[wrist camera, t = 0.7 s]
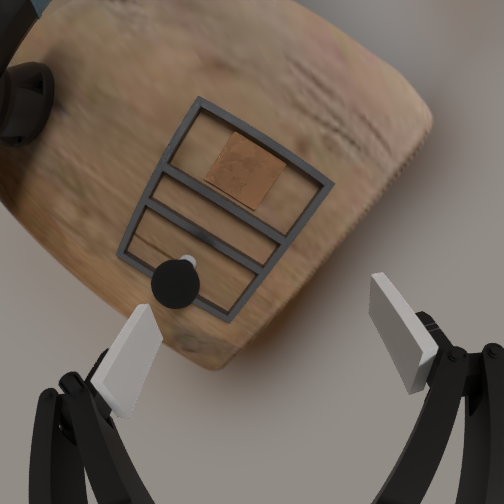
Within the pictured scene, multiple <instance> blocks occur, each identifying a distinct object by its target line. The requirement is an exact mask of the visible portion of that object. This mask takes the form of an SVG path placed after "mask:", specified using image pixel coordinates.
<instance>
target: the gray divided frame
mask: <svg viewBox="0 0 504 504" xmlns="http://www.w3.org/2000/svg"><path fill="white" fill-rule="evenodd" d="M202 108H205V109H207V110H209V111H210V112H212V113H214V114H216V115H217V116H219V117H221V118H223V119H224V120H226V121H228V122H230V123H231V124H233V125H235V126H236V127H238V128H240V129H241V130H243V131H245V132H246V133H248V134H249V135H251V136H253V137H254V138H256V139H257V140H259V141H261V142H262V143H264V144H265V145H267V146H268V147H270V148H271V149H273V150H275V151H276V152H278V153H279V154H281V155H282V156H284V157H285V158H287V159H288V160H289V161H291V162H292V163H294V164H295V165H297V166H298V167H300V168H301V169H302V170H304V171H305V172H307V173H308V174H310V175H311V176H312V177H314V178H315V179H316V180H318V181H319V182H321V183H322V185H321V187H320V188H319V190H318V191H317V192H316V194H315V195H314V197H313V198H312V199H311V201H310V202H309V203H308V205H307V206H306V208H305V209H304V210H303V212H302V213H301V214H300V216H299V217H298V219H297V220H296V221H295V223H294V224H293V225H292V227H291V228H290V230H289V231H288V232H287V234H286V235H284V234H282V233H281V232H279V231H278V230H276V229H275V228H273V227H271V226H270V225H268V224H267V223H265V222H264V221H262V220H261V219H259V218H257V217H256V216H254V215H253V214H251V213H250V212H248V211H247V210H245V209H243V208H242V207H240V206H239V205H237V204H235V203H234V202H232V201H231V200H229V199H227V198H226V197H224V196H223V195H221V194H219V193H218V192H216V191H215V190H213V189H211V188H210V187H208V186H206V185H205V184H203V183H202V182H200V181H198V180H197V179H195V178H193V177H192V176H190V175H188V174H187V173H185V172H183V171H182V170H180V169H178V168H177V167H175V166H173V165H172V164H170V163H169V162H170V160H171V159H172V157H173V155H174V153H175V152H176V150H177V148H178V146H179V145H180V143H181V141H182V140H183V138H184V136H185V135H186V133H187V131H188V130H189V128H190V126H191V125H192V123H193V122H194V120H195V118H196V117H197V115H198V114H199V112H200V111H201V109H202ZM286 165H287V164H285V163H284V162H283V161H281V160H280V159H278V158H277V157H275V156H273V155H272V154H270V153H269V152H267V151H266V150H264V149H263V148H261V147H260V146H258V145H256V144H255V143H253V142H252V141H250V140H248V139H247V138H245V137H244V136H242V135H240V134H239V133H237V132H234V133H233V135H232V136H231V138H230V139H229V141H228V142H227V144H226V145H225V147H224V149H223V150H222V152H221V153H220V155H219V156H218V158H217V160H216V161H215V163H214V164H213V166H212V168H211V169H210V171H209V172H208V174H207V176H206V177H205V180H206V181H208V182H210V183H211V184H213V185H215V186H216V187H218V188H219V189H221V190H223V191H224V192H226V193H227V194H229V195H231V196H232V197H234V198H235V199H237V200H239V201H240V202H242V203H243V204H245V205H247V206H248V207H250V208H251V209H253V210H254V211H255V210H256V208H257V207H258V205H259V204H260V202H261V201H262V199H263V198H264V196H265V195H266V194H267V192H268V191H269V189H270V188H271V186H272V185H273V183H274V182H275V180H276V179H277V178H278V176H279V175H280V173H281V172H282V170H283V169H284V168H285V166H286ZM164 172H166V173H167V174H169V175H171V176H172V177H174V178H176V179H177V180H179V181H181V182H182V183H184V184H186V185H187V186H189V187H191V188H192V189H194V190H195V191H197V192H199V193H200V194H202V195H204V196H205V197H207V198H208V199H210V200H212V201H213V202H215V203H217V204H218V205H220V206H221V207H223V208H225V209H226V210H228V211H229V212H231V213H233V214H234V215H236V216H237V217H239V218H241V219H242V220H244V221H245V222H247V223H248V224H250V225H252V226H253V227H255V228H256V229H258V230H260V231H261V232H263V233H264V234H266V235H267V236H269V237H271V238H272V239H274V240H275V241H277V242H278V243H279V245H278V246H277V247H276V249H275V250H274V251H273V253H272V254H271V255H270V257H269V258H268V259H267V261H266V262H265V263H264V265H262V264H261V263H259V262H257V261H256V260H254V259H252V258H251V257H249V256H247V255H246V254H244V253H243V252H241V251H239V250H238V249H236V248H234V247H233V246H231V245H230V244H228V243H226V242H225V241H223V240H221V239H220V238H218V237H217V236H215V235H213V234H212V233H210V232H208V231H207V230H205V229H204V228H202V227H200V226H199V225H197V224H195V223H194V222H192V221H191V220H189V219H187V218H186V217H184V216H182V215H181V214H179V213H178V212H176V211H174V210H173V209H171V208H170V207H168V206H166V205H165V204H163V203H161V202H160V201H158V200H157V199H155V198H153V197H152V194H153V192H154V190H155V188H156V186H157V185H158V183H159V181H160V179H161V177H162V175H163V173H164ZM334 185H335V183H334V182H333V181H331V180H330V179H329V178H327V177H326V176H325V175H323V174H322V173H320V172H319V171H318V170H316V169H315V168H314V167H312V166H311V165H309V164H308V163H307V162H305V161H304V160H302V159H301V158H299V157H298V156H297V155H295V154H294V153H292V152H291V151H289V150H288V149H286V148H285V147H283V146H282V145H280V144H279V143H277V142H276V141H274V140H273V139H271V138H270V137H268V136H267V135H265V134H263V133H262V132H260V131H259V130H257V129H255V128H254V127H252V126H251V125H249V124H247V123H246V122H244V121H242V120H241V119H239V118H237V117H236V116H234V115H232V114H230V113H229V112H227V111H225V110H223V109H222V108H220V107H218V106H216V105H215V104H213V103H211V102H209V101H207V100H205V99H204V98H202V97H200V96H198V97H197V99H196V100H195V102H194V103H193V105H192V106H191V108H190V109H189V111H188V113H187V114H186V116H185V117H184V119H183V121H182V122H181V124H180V126H179V127H178V129H177V131H176V132H175V134H174V136H173V137H172V139H171V141H170V143H169V144H168V146H167V148H166V150H165V151H164V153H163V155H162V157H161V159H160V161H159V162H158V164H157V166H156V168H155V170H154V172H153V174H152V176H151V178H150V180H149V182H148V184H147V186H146V188H145V190H144V192H143V194H142V196H141V198H140V200H139V202H138V204H137V206H136V208H135V211H134V213H133V215H132V217H131V219H130V222H129V224H128V226H127V229H126V231H125V233H124V236H123V238H122V240H121V243H120V245H119V248H118V250H117V253H116V256H118V257H119V258H121V259H122V260H124V261H125V262H127V263H129V264H130V265H132V266H133V267H135V268H136V269H138V270H139V271H141V272H143V273H144V274H146V275H147V276H149V277H151V278H152V276H153V273H154V271H155V270H156V269H155V268H154V267H152V266H150V265H149V264H147V263H146V262H144V261H142V260H141V259H139V258H138V257H136V256H135V255H133V254H132V253H130V252H128V251H127V248H128V245H129V243H130V241H131V239H132V236H133V234H134V232H135V230H136V227H137V225H138V223H139V221H140V219H141V217H142V215H143V213H144V210H145V208H146V206H148V207H150V208H151V209H153V210H155V211H156V212H158V213H159V214H161V215H163V216H164V217H166V218H167V219H169V220H171V221H172V222H174V223H176V224H177V225H179V226H180V227H182V228H184V229H185V230H187V231H188V232H190V233H192V234H193V235H195V236H197V237H198V238H200V239H201V240H203V241H205V242H206V243H208V244H210V245H211V246H213V247H215V248H216V249H218V250H219V251H221V252H223V253H224V254H226V255H228V256H229V257H231V258H233V259H234V260H236V261H238V262H239V263H241V264H243V265H244V266H246V267H248V268H249V269H251V270H253V271H254V272H256V273H257V274H256V276H255V277H254V278H253V280H252V281H251V282H250V284H249V285H248V286H247V288H246V289H245V290H244V292H243V293H242V294H241V296H240V297H239V298H238V299H237V301H236V302H235V303H234V305H233V306H232V307H231V309H230V310H229V311H226V310H225V309H223V308H221V307H219V306H218V305H216V304H214V303H212V302H210V301H209V300H207V299H205V298H204V297H202V296H200V295H197V297H196V298H195V300H194V301H193V302H192V303H194V304H196V305H197V306H199V307H201V308H203V309H204V310H206V311H208V312H210V313H212V314H213V315H215V316H217V317H219V318H221V319H222V320H224V321H226V322H228V323H231V321H232V320H233V319H234V318H235V316H236V315H237V314H238V313H239V311H240V310H241V309H242V307H243V306H244V305H245V304H246V302H247V301H248V300H249V298H250V297H251V296H252V295H253V293H254V292H255V291H256V289H257V288H258V287H259V286H260V284H261V283H262V282H263V280H264V279H265V278H266V276H267V275H268V274H269V273H270V271H271V270H272V269H273V267H274V266H275V265H276V263H277V262H278V261H279V259H280V258H281V257H282V255H283V254H284V253H285V251H286V250H287V249H288V247H289V246H290V245H291V243H292V242H293V241H294V239H295V238H296V237H297V235H298V234H299V233H300V231H301V230H302V229H303V227H304V226H305V225H306V223H307V222H308V221H309V219H310V218H311V217H312V215H313V214H314V212H315V211H316V210H317V208H318V207H319V206H320V204H321V203H322V201H323V200H324V199H325V197H326V196H327V195H328V193H329V192H330V190H331V189H332V188H333V186H334Z"/></svg>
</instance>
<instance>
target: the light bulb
mask: <svg viewBox="0 0 504 504" xmlns="http://www.w3.org/2000/svg"><path fill="white" fill-rule="evenodd" d="M195 267H196V261H195V259H194V258H193V257H192V256H190V255H183V256H182V257H181V258H180V259H179V260H177V259H176V260H168V261H165V262H163V263H162V264H161V265H159V266H158V267H157V268H156V270H155V271H154V273H153V276H152V280H151V288H152V292H153V294H154V296H155V298H156V299H157V300H158V302H160V303H161V304H162V305H164V306H166V307H168V308H172V309H180V308H183V307H186V306H188V305H190V304H191V303H192V302H193V301H194V300H195V298H196V297H197V295H198V292H199V287H200V281H199V277H198V274H197V272H196V271H195Z"/></svg>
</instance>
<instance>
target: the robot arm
mask: <svg viewBox="0 0 504 504" xmlns="http://www.w3.org/2000/svg"><path fill="white" fill-rule="evenodd" d="M51 1H52V0H0V144H2V145H5V146H8V147H19V146H24V145H27V144H29V143H30V142H32V141H33V140H34V139H35V138H36V137H37V136H38V134H39V133H40V131H41V130H42V128H43V127H44V125H45V123H46V121H47V118H48V116H49V113H50V110H51V106H52V101H53V95H54V81H53V76H52V73H51V71H50V69H49V68H48V67H47V66H46V65H45V64H42V63H37V62H26V63H23V64H19V65H15V66H12V67H8V68H7V66H8V64H9V62H10V61H11V59H12V57H13V56H14V54H15V52H16V51H17V49H18V48H19V46H20V44H21V43H22V41H23V40H24V38H25V37H26V35H27V34H28V32H29V31H30V30H31V28H32V27H33V25H34V24H35V23H36V21H37V20H38V19H40V18H41V16H42V13H43V11H44V10H45V9H46V7H47V6H48V5H49V3H50V2H51ZM369 315H370V317H371V319H372V320H373V322H374V324H375V326H376V328H377V330H378V332H379V334H380V336H381V338H382V340H383V342H384V344H385V346H386V348H387V350H388V352H389V354H390V355H391V358H392V359H393V362H394V364H395V366H396V368H397V370H398V372H399V374H400V376H401V378H402V381H403V383H404V385H405V387H406V389H407V392H408V394H409V395H410V394H413V393H416V392H419V391H422V390H424V387H425V385H426V382H427V384H428V386H429V387H430V389H429V391H428V394H427V396H426V398H425V400H424V405H423V407H422V410H421V412H420V414H419V417H418V419H417V421H416V424H415V426H414V429H413V431H412V433H411V435H410V437H409V439H408V441H407V443H406V445H405V447H404V449H403V451H402V453H401V455H400V457H399V459H398V461H397V462H396V464H395V466H394V468H393V470H392V471H391V473H390V475H389V477H388V478H387V480H386V482H385V483H384V485H383V486H382V488H381V490H380V491H379V493H378V494H377V496H376V497H375V499H374V500H373V502H372V503H371V504H420V503H421V501H422V499H423V497H424V496H425V494H426V492H427V490H428V487H429V485H430V483H431V481H432V479H433V477H434V475H435V472H436V470H437V468H438V466H439V463H440V461H441V458H442V456H443V453H444V451H445V448H446V445H447V443H448V440H449V437H450V434H451V431H452V428H453V425H454V421H455V418H456V415H457V411H458V408H459V404H460V400H461V397H464V396H465V433H464V449H463V459H462V468H461V475H460V482H459V488H458V493H457V498H456V503H455V504H504V348H503V347H502V346H501V345H499V344H496V343H489V344H487V345H485V346H484V348H483V350H482V352H481V353H467V351H465V350H464V349H463V348H460V347H458V346H453V345H452V344H451V342H450V341H449V340H448V338H447V337H446V336H445V334H444V333H443V332H442V331H441V329H439V326H438V325H437V324H436V323H435V321H434V320H433V318H432V317H431V316H430V315H428V314H427V313H425V312H423V311H421V312H418V313H414V312H413V311H412V309H411V308H410V306H409V305H408V304H407V302H406V301H405V300H404V298H403V297H402V296H401V294H400V293H399V292H398V291H397V290H396V288H395V287H394V286H393V284H392V283H391V282H390V280H388V278H387V277H386V276H385V274H384V273H383V272H381V273H376V274H371V284H370V304H369ZM162 340H163V337H162V335H161V332H160V330H159V328H158V325H157V323H156V321H155V318H154V316H153V313H152V311H151V308H150V306H149V304H139V305H138V306H137V307H136V309H135V310H134V312H133V313H132V315H131V316H130V318H129V319H128V321H127V322H126V324H125V325H124V327H123V329H122V330H121V332H120V333H119V335H118V336H117V338H116V340H115V341H114V343H113V344H112V346H111V347H110V349H106V350H105V351H104V352H103V353H102V354H101V355H100V357H99V358H98V360H97V362H96V363H95V364H94V367H93V368H92V369H91V371H90V373H89V374H88V376H87V378H86V379H85V381H83V379H82V378H81V376H80V375H79V374H78V373H77V372H69V373H66V374H65V375H64V376H63V377H62V378H61V379H60V381H59V386H60V388H61V389H62V390H63V392H64V393H65V394H58V392H57V391H56V390H55V389H54V388H48V389H46V390H44V391H43V392H42V393H41V395H40V396H39V400H38V405H37V411H36V416H35V422H34V428H33V436H32V444H31V454H30V468H29V504H88V501H87V494H86V485H85V473H84V467H85V470H86V473H87V476H88V479H89V482H90V484H91V487H92V490H93V492H94V495H95V497H96V500H97V502H98V504H155V503H154V501H153V500H152V498H151V496H150V494H149V493H148V491H147V489H146V488H145V486H144V484H143V482H142V481H141V479H140V477H139V475H138V473H137V471H136V469H135V467H134V465H133V463H132V462H131V460H130V457H129V455H128V453H127V451H126V449H125V447H124V445H123V442H122V440H121V438H120V436H119V433H118V431H117V429H116V426H115V424H114V422H113V419H112V418H111V416H110V413H111V411H113V412H114V413H115V415H116V416H117V417H121V418H128V419H129V418H130V416H131V413H132V411H133V408H134V405H135V403H136V401H137V399H138V396H139V394H140V391H141V389H142V386H143V384H144V382H145V379H146V377H147V375H148V372H149V370H150V368H151V365H152V363H153V361H154V358H155V356H156V354H157V351H158V349H159V347H160V345H161V342H162ZM59 425H60V427H59Z"/></svg>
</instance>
